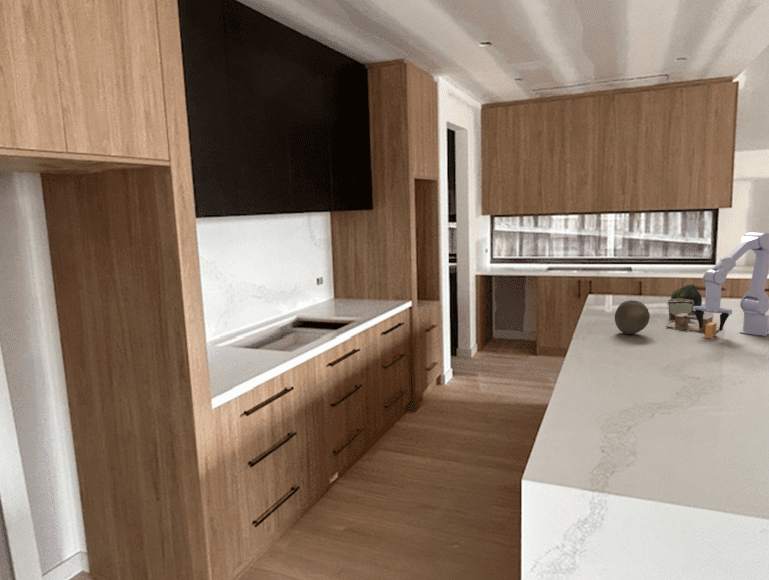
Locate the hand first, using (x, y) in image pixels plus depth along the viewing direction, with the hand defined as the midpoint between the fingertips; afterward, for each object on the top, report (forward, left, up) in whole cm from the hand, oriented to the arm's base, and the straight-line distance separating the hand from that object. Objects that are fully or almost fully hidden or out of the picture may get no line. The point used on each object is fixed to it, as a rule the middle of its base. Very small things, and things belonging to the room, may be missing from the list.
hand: (710, 329), depth 239 cm
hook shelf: (+10, -12, -3) cm, 16 cm away
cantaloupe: (+27, +17, -3) cm, 32 cm away
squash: (+26, -57, -3) cm, 63 cm away
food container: (+22, -30, -3) cm, 37 cm away
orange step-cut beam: (0, 0, -3) cm, 3 cm away
